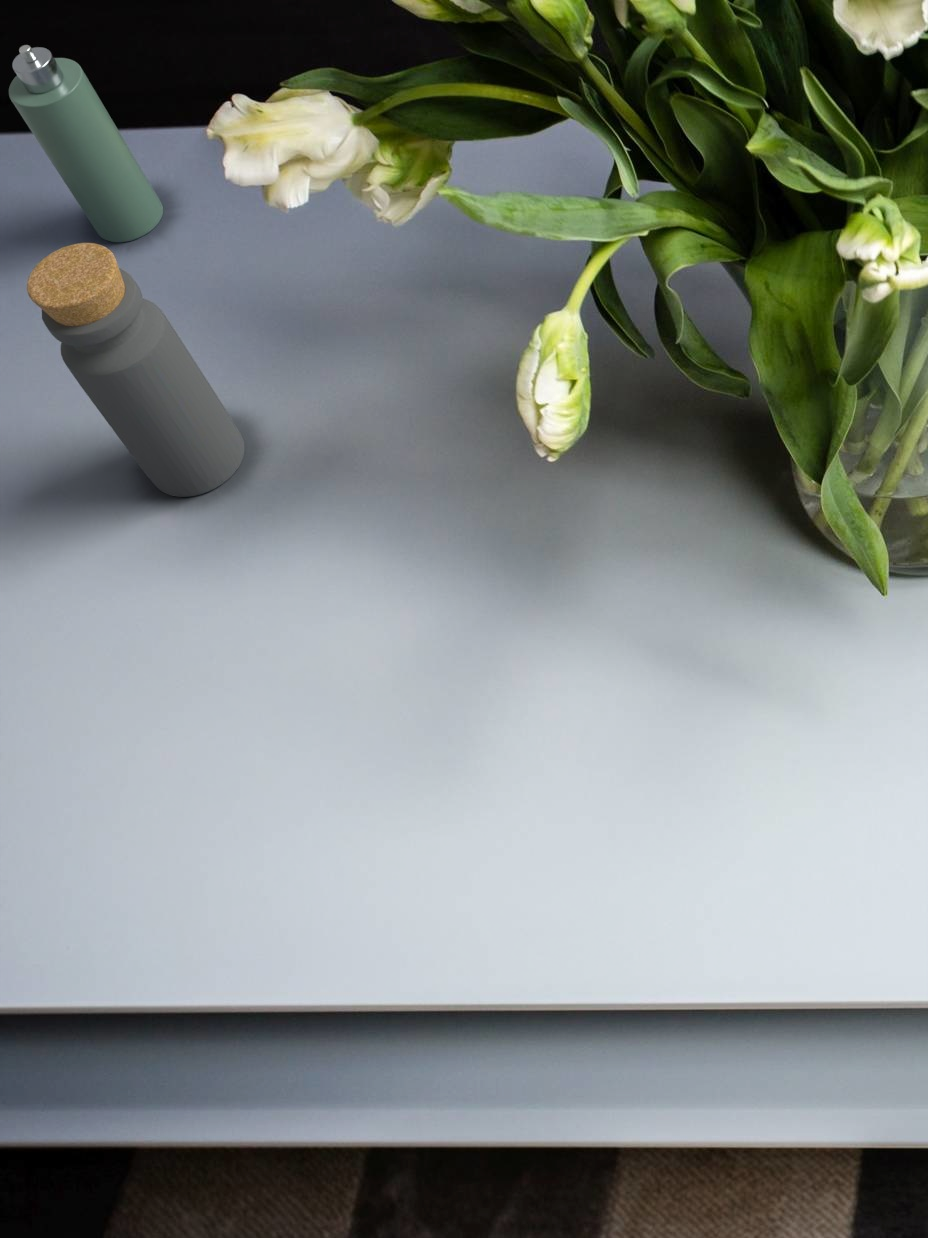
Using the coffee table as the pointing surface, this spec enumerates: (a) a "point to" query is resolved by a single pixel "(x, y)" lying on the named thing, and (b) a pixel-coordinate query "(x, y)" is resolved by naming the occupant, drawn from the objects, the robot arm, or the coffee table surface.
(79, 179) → the spray can
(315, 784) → the coffee table surface
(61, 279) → the bottle
